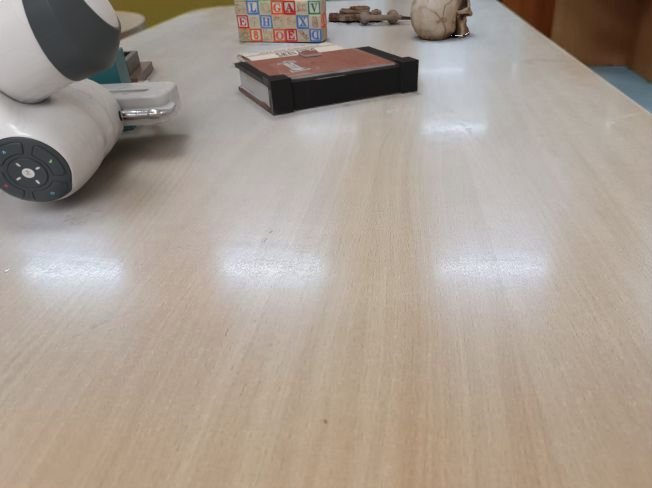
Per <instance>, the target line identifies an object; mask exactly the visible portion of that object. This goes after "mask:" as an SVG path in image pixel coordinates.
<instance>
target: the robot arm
mask: <svg viewBox="0 0 652 488" xmlns="http://www.w3.org/2000/svg"><path fill="white" fill-rule="evenodd" d="M121 38H122V24H121V21H120V19H119V17H118V15H117V13H116V11H115V9H114V7H113V5H112V4H111V2H110V1H109V0H0V191H2V192H3V193H5V194H7V195H9V196H11V197H13V198H16V199H19V200H22V201H26V202H32V203H51V202H57V201H61V200H63V199H66V198H68V197H70V196H72V195H73V194H75V193H76V192H78V191H79V190H80V189H81V188H82V187H83V186H84V185H85V184H86V183H88V181H89V180H90V179H91V178H92V177H93V176H94V174H95V173H96V172H97V171H98V169H99V168H100V166H101V165H102V163H103V160H104V159H105V158H106V157H107V156H108V155H109V154H110V152H111V151H112V149H113V148H114V146H115V145H116V144H117V142H118V140H119V139H120V138H121V136H122V134H123V131H124V130H123V127H124V126H134V125H136V126H149V125H161V124H164V123H167V122H169V121H171V120H172V119H173V118H174V117H175V116H176V115H177V114H178V113H179V112H180V111H181V109H182V103H181V98H180V97H181V96H180V92H179V88H178V85H177V84H176V82H174V81H170V80H164V81H150V80H149V79H148V80H144V81H138V82H137V83H116V84H98V83H96V82H95V81H92V80H90V79H86V78H88V77H91V76H93V75H95V74H98V73H100V72H102V71H104V70H107V69H109V68H111V67H112V66H113V65H114V63H115V60H116V57H117V53H118V50H119V47H120V44H121Z"/></svg>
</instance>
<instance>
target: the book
mask: <svg viewBox="0 0 652 488" xmlns="http://www.w3.org/2000/svg"><path fill="white" fill-rule="evenodd" d="M237 62H238V63H235V62H234V67H235V68H236V69H238V70H239V78H240V84H241V85H238V86H237V87H238V91H239V92H241V93H242V94H243V95H245V96H246V97H247V98H249V99H250V100H251V101H254V102H255V103H256V104H257V105H258V106H260V107H261V108H263V109H264V110H265V111H267V112H268V113H269V114H271V115H272V116H279V115H285V114H290V113H294V112H295V111H301V110H306V109H313V108H318V107H325V106H331V105H335V104H336V105H337V104H341V103H342V104H343V103H347V102H354V101H359V100H365V99H371V98H377V97H382V96H389V95H394V94H406V93H413V92H417V91H418V86H419V68H420V66H419V65H420V60H419V59H417V58H415V57H412V56H399V55H396V54H393V53H391V52H387V51H385V50H381V49H378V48H376V47H372V46H369V45H367V46H360V47H352V48H344V49H342V50H334V51H326V52H317V51H315V50H312V51H309V50H307V51H302V52H298V55H294V56H286V57H278V58H270V59H262V60H254V61H246V62H239V61H237Z"/></svg>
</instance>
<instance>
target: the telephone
mask: <svg viewBox="0 0 652 488" xmlns="http://www.w3.org/2000/svg"><path fill="white" fill-rule="evenodd" d="M382 13H383V12H382V10H381V9H379V8H374V9H371V6H369V5H351V6H350V7H348V8H345V7H342V8H340V9H339V11H338V12H329V13H328V22H355V21H356V22H359V23H360V24H361V25H367V24H369V23H370V22H384V21H387V22H388V24H390V25H391V24H393V25H394V24H396V23H397V22H398V21H411V17H410V16H409V15H408V16H407V15H406V16H405V15H402V14H399V12H398V11H397V10H396V9H390V10H389V11H387V12H386V14H382Z"/></svg>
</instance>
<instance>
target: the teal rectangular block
mask: <svg viewBox="0 0 652 488" xmlns="http://www.w3.org/2000/svg"><path fill="white" fill-rule="evenodd" d="M123 51H124V49H123V46H122V47H121V46H119V50H118V53H117V57H116V60H115V63H114V65H113V66H112V67H111V68H109V69H107V70H104V71H102V72H100V73H98V74H95V75H93V76H91V77H88V79H90V80H92V81H95V82H96V83H98V84H116V83H131V80H130V76H129V72H128V68H127V64H126V60H125V56H124V52H123ZM136 126H137V125H134V126H124V127H123V131H128V130H129V131H131V130H134V129H135V127H136Z"/></svg>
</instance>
